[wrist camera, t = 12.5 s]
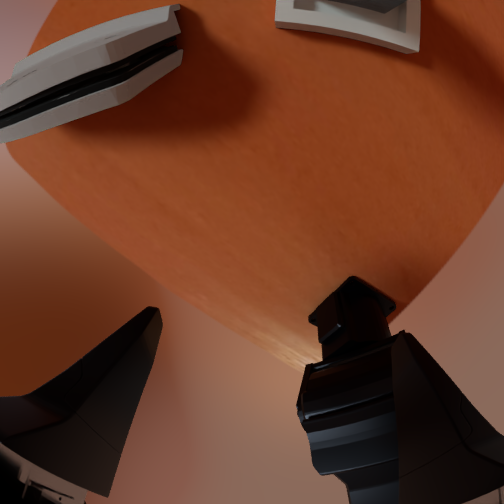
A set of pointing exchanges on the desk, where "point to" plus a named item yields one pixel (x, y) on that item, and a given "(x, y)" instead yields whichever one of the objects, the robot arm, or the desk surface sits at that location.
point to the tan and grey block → (373, 4)
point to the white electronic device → (88, 72)
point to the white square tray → (354, 22)
